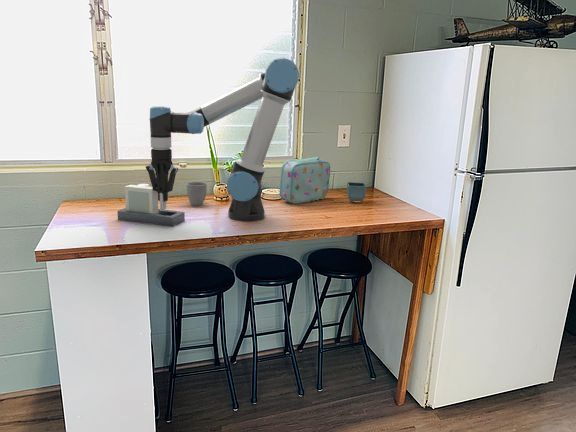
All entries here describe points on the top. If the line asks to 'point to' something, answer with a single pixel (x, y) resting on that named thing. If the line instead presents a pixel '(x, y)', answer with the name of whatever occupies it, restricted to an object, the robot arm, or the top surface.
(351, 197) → the flower pot
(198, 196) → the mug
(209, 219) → the top surface
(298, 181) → the lunch box
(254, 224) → the top surface
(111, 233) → the top surface
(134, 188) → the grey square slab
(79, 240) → the top surface
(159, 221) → the grey rectangular tray
